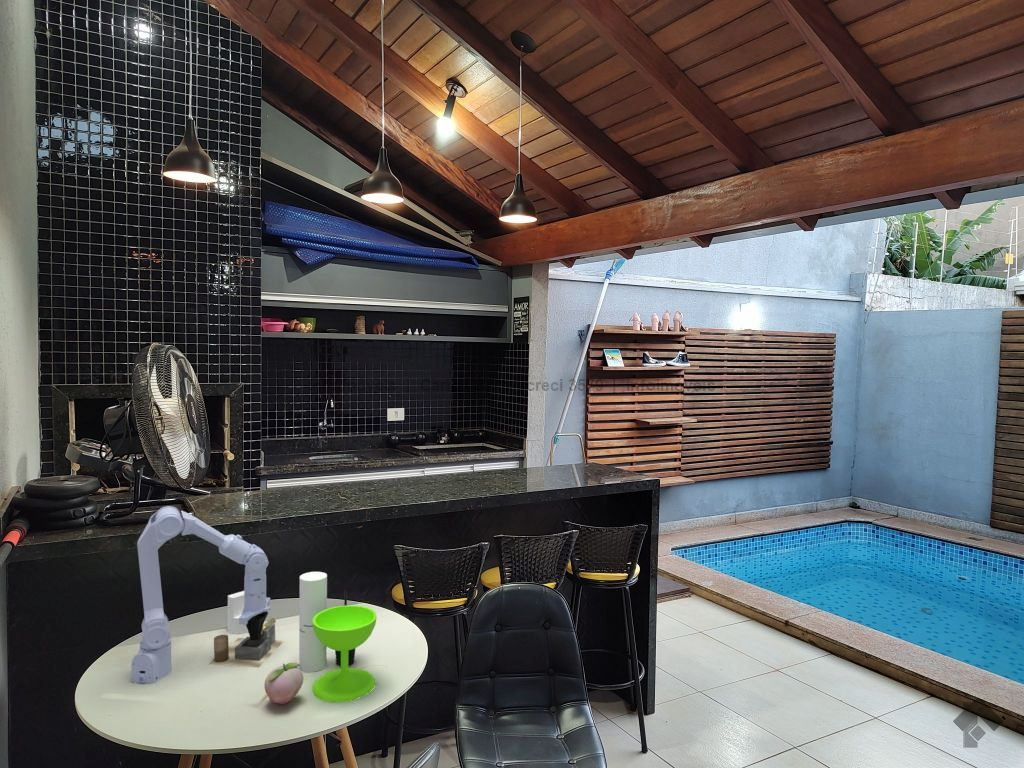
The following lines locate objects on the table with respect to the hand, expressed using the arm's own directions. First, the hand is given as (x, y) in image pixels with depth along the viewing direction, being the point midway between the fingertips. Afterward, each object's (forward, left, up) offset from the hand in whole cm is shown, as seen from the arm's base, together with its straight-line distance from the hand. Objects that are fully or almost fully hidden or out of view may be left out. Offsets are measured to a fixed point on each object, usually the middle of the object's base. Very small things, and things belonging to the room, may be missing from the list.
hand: (255, 639), depth 184 cm
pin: (+7, 0, 0) cm, 7 cm away
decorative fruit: (-22, -18, -5) cm, 29 cm away
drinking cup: (0, -26, -5) cm, 26 cm away
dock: (0, +2, -5) cm, 5 cm away
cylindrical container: (-3, -18, -5) cm, 19 cm away
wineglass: (-12, -30, -5) cm, 33 cm away
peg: (-5, +7, -4) cm, 9 cm away
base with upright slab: (+15, +11, -5) cm, 19 cm away
